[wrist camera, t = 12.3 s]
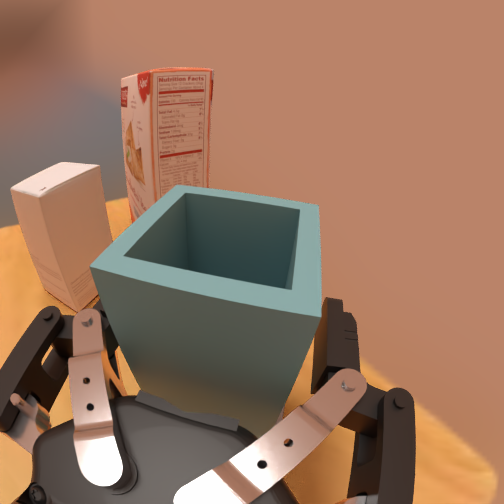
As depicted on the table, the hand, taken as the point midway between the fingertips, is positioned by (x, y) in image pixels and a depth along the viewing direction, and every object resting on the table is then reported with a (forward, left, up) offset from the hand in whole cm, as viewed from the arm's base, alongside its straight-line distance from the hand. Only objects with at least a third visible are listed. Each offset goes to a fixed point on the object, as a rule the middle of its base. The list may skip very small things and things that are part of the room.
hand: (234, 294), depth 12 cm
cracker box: (+5, +21, -11) cm, 24 cm away
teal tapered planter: (-2, -1, -10) cm, 10 cm away
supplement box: (-7, +19, -11) cm, 23 cm away
